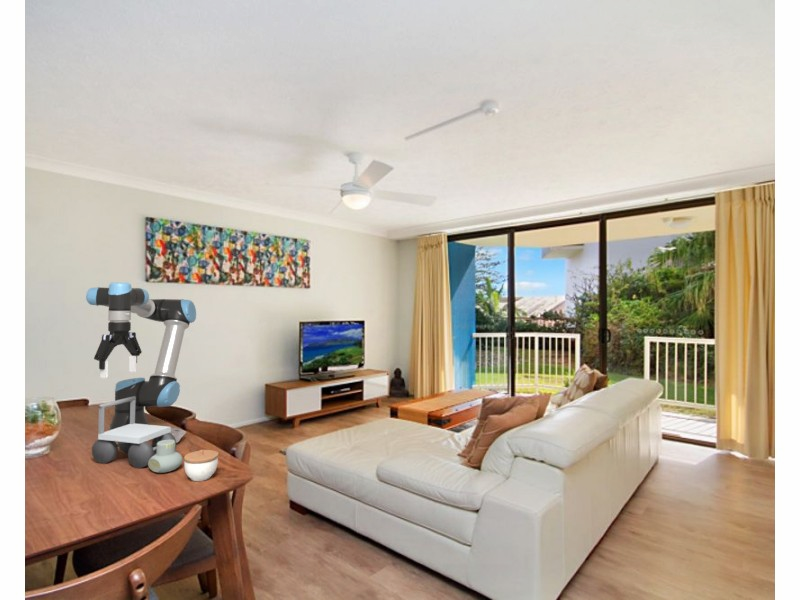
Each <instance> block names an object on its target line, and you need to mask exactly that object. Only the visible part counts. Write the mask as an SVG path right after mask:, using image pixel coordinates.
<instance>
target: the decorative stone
mask: <svg viewBox="0 0 800 600" xmlns="http://www.w3.org/2000/svg"><path fill="white" fill-rule="evenodd" d="M169 433H170V434H172V435H173V436H174V438H175V440H176V443H177V444H178V443H179V442H180V441H181V439H182V437H184V435H185V434H186V433H187V431H186V430H183V429H182V428H174V427H171V432H169Z"/></svg>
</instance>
